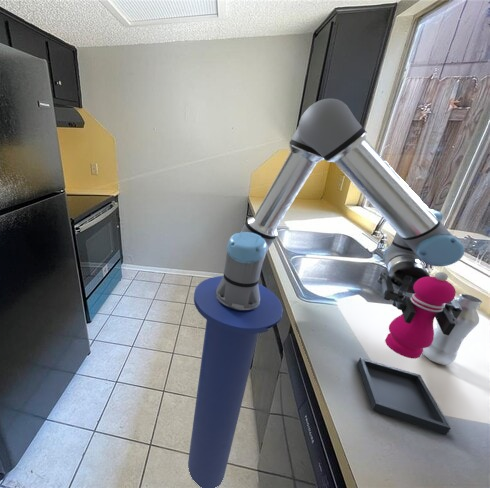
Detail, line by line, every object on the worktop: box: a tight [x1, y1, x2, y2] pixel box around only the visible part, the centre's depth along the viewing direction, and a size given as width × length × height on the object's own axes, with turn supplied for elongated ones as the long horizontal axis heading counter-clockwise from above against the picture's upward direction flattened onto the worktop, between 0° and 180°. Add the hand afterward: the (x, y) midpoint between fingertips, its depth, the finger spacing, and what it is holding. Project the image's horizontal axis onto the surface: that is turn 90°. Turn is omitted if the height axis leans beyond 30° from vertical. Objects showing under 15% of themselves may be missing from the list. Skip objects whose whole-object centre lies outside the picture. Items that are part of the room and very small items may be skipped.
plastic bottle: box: [422, 293, 483, 366], centre depth 67 cm, size 6×7×20 cm
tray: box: [356, 357, 452, 435], centre depth 60 cm, size 14×13×2 cm
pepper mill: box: [384, 271, 457, 359], centre depth 55 cm, size 7×7×20 cm
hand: (429, 323), depth 51 cm, fingers closed on pepper mill, 5 cm apart
